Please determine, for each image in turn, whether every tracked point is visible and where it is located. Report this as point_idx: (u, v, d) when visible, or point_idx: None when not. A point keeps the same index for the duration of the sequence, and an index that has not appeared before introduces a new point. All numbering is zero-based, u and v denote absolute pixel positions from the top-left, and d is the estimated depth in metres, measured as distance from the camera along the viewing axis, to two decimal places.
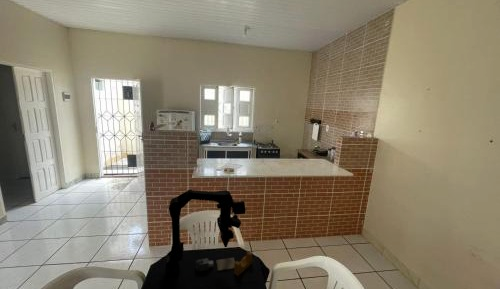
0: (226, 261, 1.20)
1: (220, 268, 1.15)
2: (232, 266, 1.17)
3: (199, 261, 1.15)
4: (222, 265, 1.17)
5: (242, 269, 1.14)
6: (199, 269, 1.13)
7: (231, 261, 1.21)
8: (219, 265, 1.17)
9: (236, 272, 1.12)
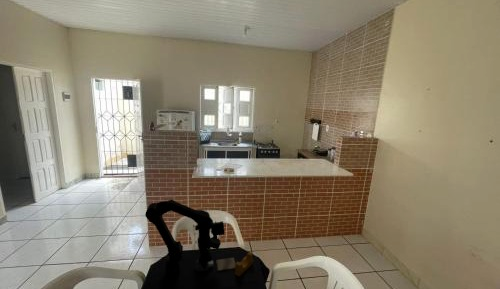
0: (226, 261, 1.20)
1: (220, 268, 1.15)
2: (232, 266, 1.17)
3: None
4: (222, 265, 1.17)
5: (243, 270, 1.13)
6: (199, 269, 1.13)
7: (231, 261, 1.21)
8: (219, 265, 1.17)
9: (237, 273, 1.11)
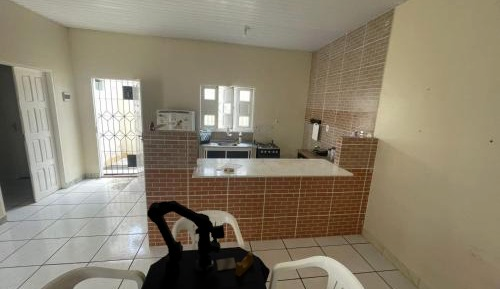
0: (226, 261, 1.20)
1: (220, 268, 1.15)
2: (232, 266, 1.17)
3: None
4: (222, 265, 1.17)
5: (243, 270, 1.13)
6: (199, 269, 1.13)
7: (231, 261, 1.21)
8: (219, 265, 1.17)
9: (237, 273, 1.11)
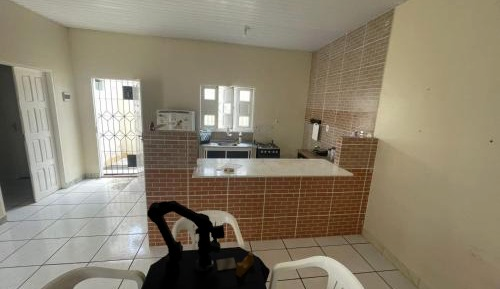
0: (226, 261, 1.20)
1: (220, 268, 1.15)
2: (232, 266, 1.17)
3: None
4: (222, 265, 1.17)
5: (244, 270, 1.13)
6: (199, 269, 1.13)
7: (231, 261, 1.21)
8: (219, 265, 1.17)
9: (238, 273, 1.11)
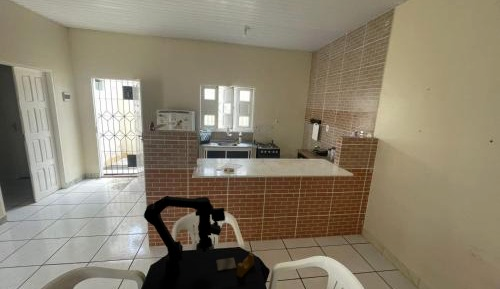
0: (226, 261, 1.20)
1: (220, 268, 1.15)
2: (232, 266, 1.17)
3: None
4: (222, 265, 1.17)
5: (245, 271, 1.13)
6: (199, 252, 1.11)
7: (231, 261, 1.21)
8: (219, 265, 1.17)
9: (239, 274, 1.10)
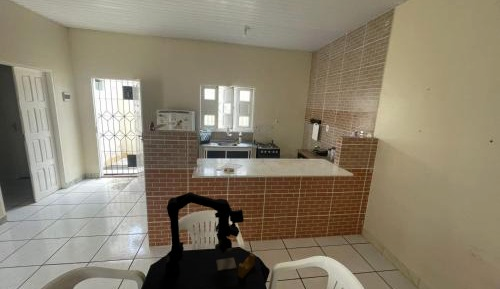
0: (226, 261, 1.20)
1: (220, 268, 1.15)
2: (232, 266, 1.17)
3: (218, 245, 1.16)
4: (222, 265, 1.17)
5: (246, 271, 1.12)
6: (218, 253, 1.14)
7: (231, 261, 1.21)
8: (219, 265, 1.17)
9: (240, 274, 1.10)
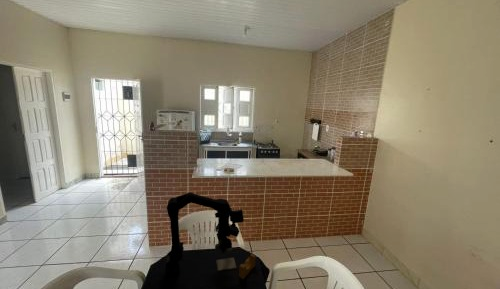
0: (226, 261, 1.20)
1: (220, 268, 1.15)
2: (232, 266, 1.17)
3: (218, 245, 1.16)
4: (222, 265, 1.17)
5: (247, 272, 1.12)
6: (218, 253, 1.14)
7: (231, 261, 1.21)
8: (219, 265, 1.17)
9: (241, 275, 1.10)
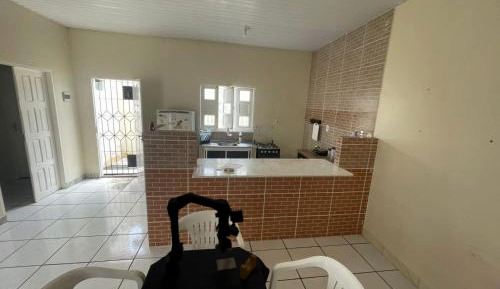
0: (226, 261, 1.20)
1: (220, 268, 1.15)
2: (232, 266, 1.17)
3: (218, 245, 1.16)
4: (222, 265, 1.17)
5: (248, 272, 1.12)
6: (218, 253, 1.14)
7: (231, 261, 1.21)
8: (219, 265, 1.17)
9: (242, 276, 1.09)
